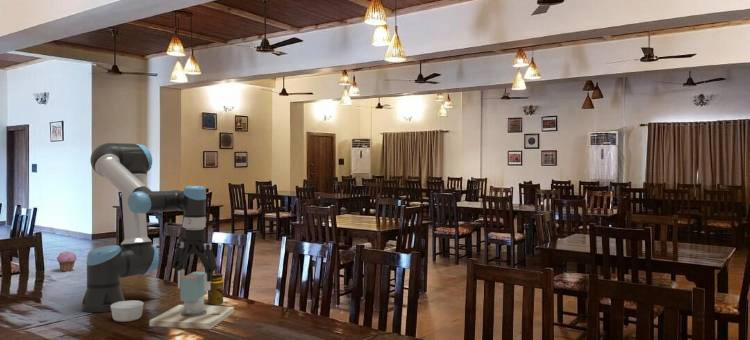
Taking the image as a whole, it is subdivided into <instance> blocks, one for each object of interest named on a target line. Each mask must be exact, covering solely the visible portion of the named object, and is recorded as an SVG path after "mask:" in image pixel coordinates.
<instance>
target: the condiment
mask: <svg viewBox="0 0 750 340" xmlns="http://www.w3.org/2000/svg"><path fill="white" fill-rule="evenodd" d="M223 276H224V275H223V273H220V272H212V281H211V284H210V290H208V291H207V301H204V306H223V305H227V303H225V302H224V279H223Z"/></svg>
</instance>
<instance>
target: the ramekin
mask: <svg viewBox="0 0 750 340" xmlns="http://www.w3.org/2000/svg"><path fill="white" fill-rule="evenodd" d="M144 307H145V303H144V302H143V301H141V300H131V299H130V300H125V301H120V302H116V303H114V304H112V305H111V307H110V308H111V311H110V312H111V315H112V320H114V321H115V322H124V323H125V322H132V321H137V320H139V319H141V317H142V315H143V310H144Z"/></svg>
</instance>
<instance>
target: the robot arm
mask: <svg viewBox="0 0 750 340" xmlns="http://www.w3.org/2000/svg"><path fill="white" fill-rule="evenodd" d="M90 165H91V168H92V169H93V171H94V172H96V174H98V176H100V177H104V178H106V179H107V180H108V181H109V182H110V183H111V184H112V185H113V186H114V187H115V188H116V189H117V190H118V191H119V192H120V193H121V203H122V216H123V218H122V219H123V220H122V221H123V233H124V239H123V241H122V242H121V243H120V245H116V244H114V245H111V244H110V245H104V246H100V247H96V248H92V249H91V250H90V251H89V252H88V253H87V257H86V290H85V293H84V296H83V299H82V302H81V311H83V312H87V313H104V312H106V313H107V312H112V311H111V308H110V307H111V305H112V304H114V303H116V302H120V301H126V300H125V298H124V297H125V296H124V294H123V291H122V288H121V279H124V278H130V277H134V276H135V277H136V276H144V275H147V274H150V273H152V272H154V271H155V269H157V266H158V264H159V261H160V260H159V258H160V254H159V250H158V248H157V246H156V245H155V244H152V243H153V242H152V240H151V239H150V238H149V236H148V230H147V229H148V227H147V225H148V224H147V213H159V212H175V211H178V212H180V211H181V212H183V228H184V230H183V239H184V241H178V242H176V250H175V254H174V257H173V261H172V264H171V268H172V269H175V270H176V274H175V275H176V280H177V289H180V290H181V277H182V276H185V269H184V266H185V265H186V263H187V261H188V260H189V258H190V256H191V255H196V256H197V257H198V258H199V260H200V262H201V264H202V266H203V268H204V270H205V271H204V272H205V273H204V291H207V292H208V290H210V284H211V281H212V273H214V272H215V271H218V266H217V261H216V257H215V254H214V251H213V250H214V249H213V247H214V245H213V243H206V241H205V240H206V232H207V231H206V229H205V228H206V224H207V223H206V219H207V218H206V213H207V209H206V207H207V193H206V192H207V191H206V190H207V189H206V187H205V186H202V185H188V186H187V185H186V186H185V187H184V189H183V190H179V189H171V190H153V191H152V190H151V189H150V188H149V187H148V186H147V185H146V184H145V181H144V179H146V177H147V176H148V172H149V171H150V170H151V169H152V165H153V157H152V153H151V151H150V150H149V148H148V147H147V146H145V145H144V144H142V143H141V144H140V143H139V144H138V143H134V142H133V143H120V142H119V143H118V142H105V143H103V144H100V145H98V146H97V147H96V148H94V150H93V151H92V153H91V155H90ZM184 248H185V249H184Z"/></svg>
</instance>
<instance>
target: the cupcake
mask: <svg viewBox="0 0 750 340" xmlns="http://www.w3.org/2000/svg"><path fill="white" fill-rule="evenodd" d="M56 261H57V262H58V265H59V269H60V271H61V272H64V273H67V272H66V271H68V272H71V271H73V268H74V266H75V262H76V261H77V255H76V254H75V252H72V251H64V252H59V255H58V256H57V257H56Z"/></svg>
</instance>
